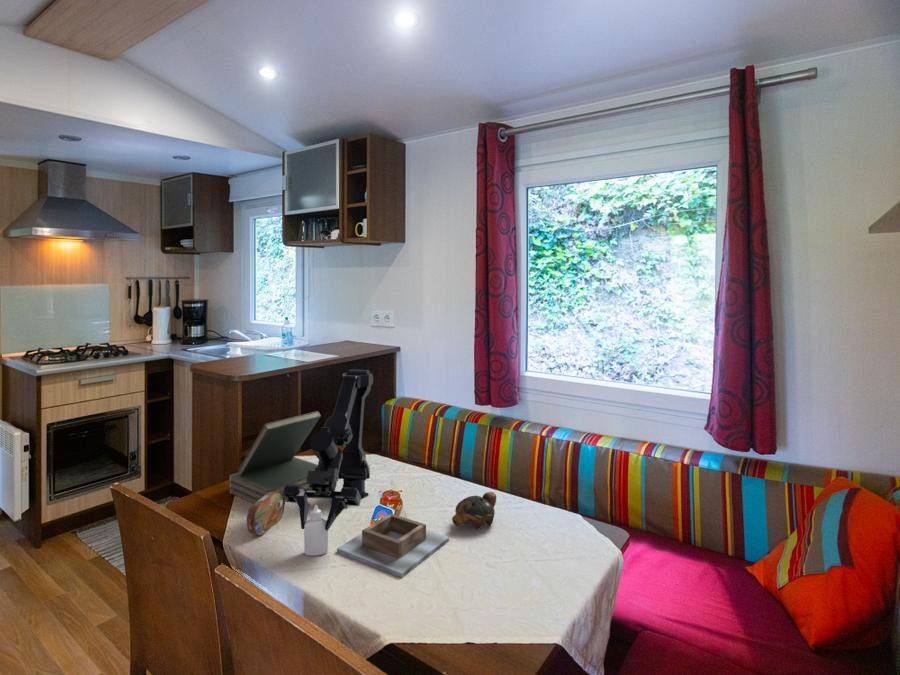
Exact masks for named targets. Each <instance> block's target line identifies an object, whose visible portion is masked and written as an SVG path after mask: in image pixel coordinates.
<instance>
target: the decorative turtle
mask: <svg viewBox="0 0 900 675" xmlns="http://www.w3.org/2000/svg"><path fill="white" fill-rule="evenodd" d="M496 503H497V495H496V493H495V492H492V491H487V492H485V493H483V495H482V496H480V495H471V496H467V497H464V498H463V499H462V500H461V501H459V502H458V503H457V504H456V507H455V511H454V512H455V514H454V515H453V516H452V518H451V520H452V522H453V524H454V525H455V526H456V527H461V526H464V525H465V524H468V523H471V524H472V526H473V527H474V528H475V529H476V530H480V529H481V528H482V527H483V526H484V525H485V524H486V525H487V526H491V525H492V524H493V523H494V518H495V514H496V512H495V506H496Z"/></svg>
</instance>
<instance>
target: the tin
mask: <svg viewBox="0 0 900 675" xmlns="http://www.w3.org/2000/svg"><path fill="white" fill-rule="evenodd" d="M285 504H286V503H284V496H283V495H282V493H281V492H279V491H278V492H269V493H267V494H266V495H265V496H263V497H262V498H261V499H259V500H258V501H257V502H255V503H252V505H251V506H250V507H249V509H248V512H247V515H246V526H247V532H248V533H249V534H251V535H252V536H253V535H254V536H264V535H265V534H266V533H267V532H268V531H269V530H270V529H272V528H273V527H274V526H275V525H276V524H277V523H279V522H280V521H281V519H282V518H283V514H284V510H285ZM273 525H274V526H273ZM272 526H273V527H272ZM271 527H272V528H271ZM266 531H267V532H266ZM265 532H266V533H265ZM264 533H265V534H264ZM263 534H264V535H263Z"/></svg>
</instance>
